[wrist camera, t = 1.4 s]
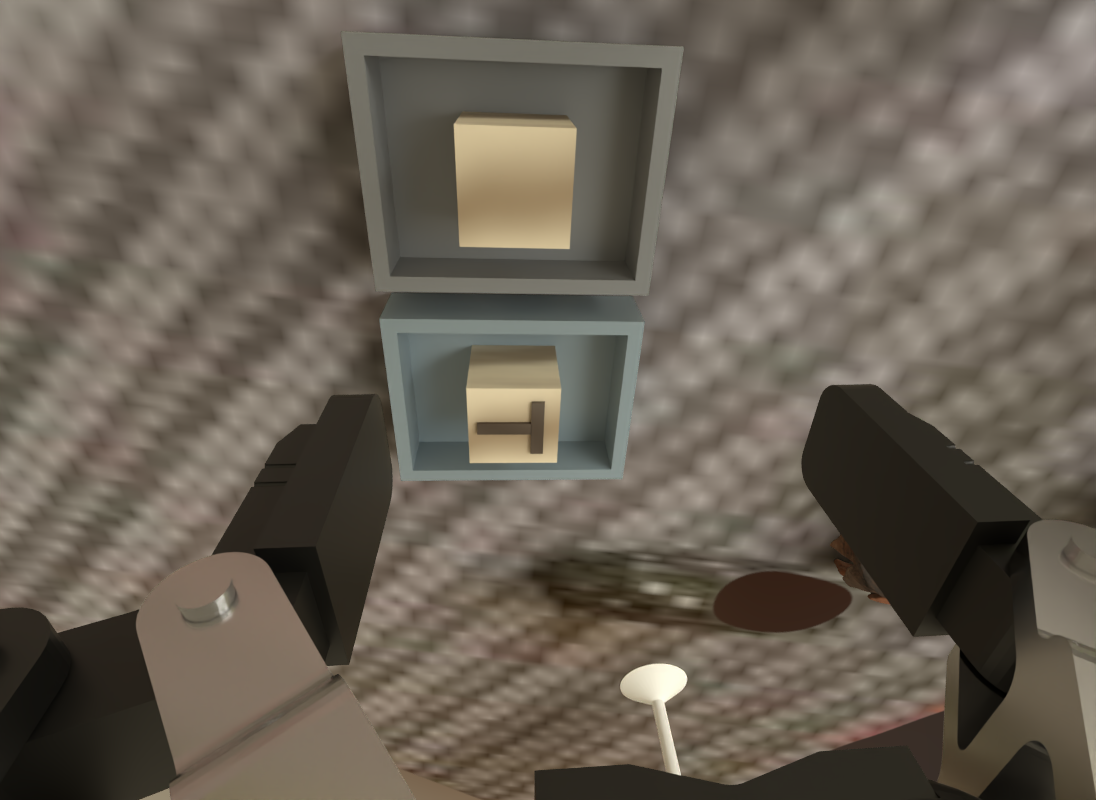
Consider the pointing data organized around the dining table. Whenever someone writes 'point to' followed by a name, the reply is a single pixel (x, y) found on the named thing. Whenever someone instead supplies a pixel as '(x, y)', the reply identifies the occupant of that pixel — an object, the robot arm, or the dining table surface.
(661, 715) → the champagne flute
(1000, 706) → the robot arm
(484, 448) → the letter cube
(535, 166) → the blank cube
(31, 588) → the dining table surface
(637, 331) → the slate bin
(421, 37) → the charcoal bin
